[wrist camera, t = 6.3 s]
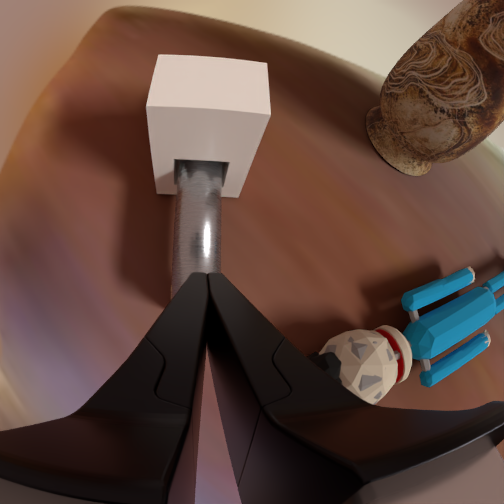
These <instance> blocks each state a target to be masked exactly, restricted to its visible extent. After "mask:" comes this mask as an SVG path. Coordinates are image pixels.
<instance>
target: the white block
mask: <svg viewBox="0 0 504 504" xmlns="http://www.w3.org/2000/svg"><path fill="white" fill-rule="evenodd" d="M146 111H147V121H148V130H149V139H150V147H151V155H152V163H153V171H154V178H155V185H156V191H157V194H177V182H178V171H179V160H180V159H186V160H205V161H221V162H222V192H221V197H236V198H238V197H239V195H240V192H241V189H242V187H243V184H244V182H245V179H246V176H247V174H248V171H249V169H250V166H251V164H252V161H253V158H254V156H255V153H256V151H257V148H258V146H259V143H260V141H261V138H262V136H263V133H264V131H265V128H266V126H267V123H268V121H269V118H270V116H271V109H270V95H269V82H268V69H267V63H263V62H255V61H248V60H239V59H230V58H219V57H206V56H189V55H158V59H157V63H156V67H155V71H154V74H153V78H152V83H151V87H150V91H149V95H148V100H147V104H146Z"/></svg>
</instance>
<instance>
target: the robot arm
mask: <svg viewBox="0 0 504 504" xmlns="http://www.w3.org/2000/svg"><path fill="white" fill-rule="evenodd" d="M206 347H207V351H208V357H209V362H210V367H211V372H212V377H213V382H214V387H215V392H216V397H217V402H218V406H219V411H220V416H221V420H222V425H223V429H224V434H225V438H226V442H227V447H228V451H229V455H230V459H231V463H232V467H233V471H234V475H235V479H236V483H237V487H238V491H239V495H240V499H241V502H242V504H504V461H503V459H502V457H501V455H500V453H499V452H498V450H497V448H496V446H497V445H498V444H499V443H500V442H501V441H502V440H503V439H504V402H503V401H492V402H489V403H487V404H485V405H482V406H480V407H477V408H474V409H469V410H460V411H436V410H416V409H401V408H389V407H381V406H377V405H373V404H371V403H368V402H366V401H365V400H363V399H361V398H360V397H358V396H357V395H355V394H354V393H352V392H351V391H350V390H348V389H347V388H346V387H344V386H343V385H342V384H340V383H339V382H338V381H336V380H335V379H334V378H332V377H331V376H330V375H328V374H327V373H326V372H324V371H323V370H322V369H321V368H319V367H318V366H317V365H316V364H314V363H313V362H312V361H311V360H309V359H308V358H307V357H306V356H305V355H304V354H303V353H301V352H300V351H299V350H298V349H297V348H296V347H295V346H294V345H293V344H292V343H291V342H290V341H289V340H288V339H287V338H285V337H284V335H283V334H282V333H281V332H280V331H279V330H277V329H276V328H275V327H274V326H273V325H272V324H271V323H270V322H269V321H268V320H267V319H266V318H265V317H264V316H263V315H262V314H261V313H260V312H259V311H258V310H257V308H256V307H255V306H254V305H253V304H252V303H251V302H250V301H249V300H248V299H247V298H246V297H245V296H244V295H243V294H242V293H241V292H240V291H239V290H238V289H237V288H236V287H235V286H234V285H233V284H232V283H231V282H230V281H229V280H228V279H227V278H226V277H225V276H224V275H223V274H222V273H208V274H206V273H204V272H192V273H191V274H190V276H189V277H188V278H187V280H186V281H185V282H184V283H183V285H182V286H181V287H180V289H179V290H178V291H177V293H176V294H175V296H174V297H173V298H172V300H171V301H170V302H169V304H168V305H167V306H166V308H165V309H164V310H163V312H162V313H161V314H160V316H159V317H158V318H157V320H156V321H155V323H154V324H153V325H152V327H151V328H150V329H149V331H148V332H147V333H146V335H145V336H144V338H143V339H142V340H141V342H140V343H139V344H138V346H137V347H136V348H135V350H134V351H133V352H132V354H131V355H130V356H129V357H128V359H127V360H126V361H125V362H124V363H123V364H122V365H121V366H120V367H119V369H118V370H117V371H116V372H115V373H114V374H113V375H112V376H111V377H110V378H109V379H108V380H107V381H106V382H105V383H104V384H103V385H102V386H101V387H100V388H99V390H98V391H97V392H96V393H95V394H94V395H93V396H92V397H91V398H90V399H89V400H88V401H87V402H86V403H85V404H84V405H83V406H82V407H81V408H79V409H78V410H77V411H76V412H74V413H72V414H71V415H69V416H66V417H64V418H60V419H56V420H52V421H47V422H43V423H39V424H34V425H30V426H25V427H20V428H15V429H10V430H5V431H0V504H195V486H196V470H197V456H198V442H199V429H200V416H201V404H202V393H203V381H204V371H205V360H206Z"/></svg>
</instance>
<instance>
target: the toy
mask: <svg viewBox="0 0 504 504" xmlns="http://www.w3.org/2000/svg"><path fill="white" fill-rule="evenodd" d="M474 279H475V272H474V271H473V268H471V267H470V266H469V267H466V268H464V269H461V270H459V271H457V272H455V273H453V274H451V275H449V276H447V277H445V278H443V279H437V280H435V281H433V282H430V283H428V284H425V285H423V286H420V287H418V288H415V289H413V290H410V291H408V292H405V293H404V295H403V297H402V299H401V302H402V306H403V309H404V310H405V311H407V312H408V313H409V316H410V319H411V322H410V323H409V324H408V326H407V327H406V329H405V330H404V332H403V334H401V333H400V332H399V331H398V330H397V329H395V328H393V327H391V326H388V325H383V326H380V327H378V328H375V329H374V330H371V331H369V330H361V329H357V330H351V331H346V332H344V333H342V334H340V335H337V336H335V337H333V338H331V339H329V340H328V342H327V343H326V344H325V346H324V347H323V348H322V350H321V351H320V352H319V353H317V352H314V353H313V354H311V355H309V356H308V357H307V358H308V359H309V360H311V361H312V362H313V363H314V364H316V365H317V366H318V367H319V368H321V369H322V370H323V371H324V372H326V373H327V374H328V375H330V376H331V377H332V378H334V379H335V380H336V381H338V382H339V383H340V384H342V385H343V386H344V387H346V388H347V389H348V390H350V391H351V392H352V393H354V394H355V395H357V396H358V397H360V398H361V399H363V400H365V401H366V402H368V403H371V404H373V405H374V404H376V403H377V402H378V401H379V400H380V399H381V398H382V397H383V396H385V395H386V393H387V392H388V391H389V390H390V388H391V387H392V386H393V385H394V384H398V383H400V382H402V381H404V380H405V379H406V378H407V377H408V375H409V373H410V369H411V366H412V358H413V359H416V360H419V361H420V363H421V368H422V372H421V373H420V380H421V385H423V386H426V387H431V386H433V385H434V384H436V383H437V382H439V381H440V380H442V379H443V378H445V377H446V376H448V375H449V374H451V373H452V372H454V371H455V370H457V369H458V368H459V367H461V366H462V365H464V364H465V363H467V362H468V361H469V360H471V359H472V358H474V357H475V356H476V355H478V354H479V353H481V352H482V351H483V350H485V349H486V348H487V347H488V346H489V344H490V341H491V339H490V336H489V334H488V331H487V332H486V330H484V332H483V333H481V334H478V335H477V336H475V337H474V338H472V339H471V340H469V341H468V342H466V343H465V344H463V345H462V346H460V347H459V348H457V349H456V350H454V351H452V352H451V353H449V354H448V355H446V356H445V357H443V358H442V359H440V360H439V361H437V362H435V363H434V364H432V365H431V366H430V362H429V359H431V358H433V357H435V356H436V355H438V354H440V353H441V352H443V351H445V350H446V349H448V348H450V347H451V346H453V345H454V344H456V343H457V342H459V341H461V340H462V339H464V338H465V337H467V336H468V335H470V334H471V333H473V332H474V331H476V330H477V329H479V328H480V327H481V326H483V325H484V324H486V323H487V322H488V321H489V320H490V319H491V318H492V317H493V316H494V315H495V314H497V313H499V312H500V311H501V310H502V309H504V294H503V295H502V296H500V297H499V298H497V299H496V300H495V297H494V294H493V292H495V291H496V290H498V289H500V288H501V287H503V286H504V271H503V272H501V273H500V274H498V275H497V276H495V277H493V278H492V279H490V280H489V281H487V282H486V283H484V284H482V287H483V288H482V287H476V288H474V289H473V290H471V291H469V292H467V293H465V294H463V295H462V296H460V297H458V298H456V299H454V300H452V301H450V302H448V303H446V304H444V305H442V306H440V307H438V308H436V309H434V310H432V311H430V312H428V313H426V314H424V315H422V316H420V317H419V316H418V312H417V309H419V308H422V307H424V306H426V305H428V304H431V303H433V302H435V301H437V300H439V299H441V298H444V297H446V296H447V295H450V294H452V293H454V292H456V291H458V290H460V289H462V288H464V287H466V286H468V285H470V284H471V283H474Z"/></svg>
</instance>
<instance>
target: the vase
mask: <svg viewBox="0 0 504 504" xmlns="http://www.w3.org/2000/svg"><path fill="white" fill-rule="evenodd" d="M503 120H504V0H463V1H462V2H461V3H460V4H458V5H457V6H456V7H455V8H454V9H452V10H451V11H450V12H449V13H448V14H447V15H445V16H444V17H443V18H442V19H441V20H440V21H439V22H438V23H437V24H435V25H434V26H433V27H432V28H431V29H430V30H428V31H427V32H426V33H425V34H424V35H423V36H422V37H421V38H420V39H419V40H418V41H417V42H415V43H414V44H413V45H412V46H411V47H410V48H409V49H408V50H407V52H406V53H405V54H404V55H403V56H402V57H401V58H400V60H399V61H398V62H397V63H396V65H395V66H394V67H393V69H392V70H391V72H390V73H389V74H388V76H387V78H386V80H385V82H384V84H383V86H382V89H381V93H380V106H376V107H373V108H371V109H370V110H369V111H368V113H367V115H366V129H367V132H368V135H369V138H370V140H371V142H372V143H373V145H374V147H375V148H376V150H377V151H378V152H379V154H380V155H381V156H382V157H383V158H384V159H385V160H386V161H387V162H388V163H389V164H391V165H392V166H393V167H395V168H397V169H398V170H399V171H401V172H403V173H405V174H408V175H413V176H421V175H424V174H426V173H427V172H428V171H429V170H430V168H431V166H432V163H444V162H449V161H451V160H453V159H456V158H458V157H460V156H462V155H464V154H466V153H467V152H469V151H470V150H472V149H473V148H474V147H476V146H477V145H478V144H480V143H481V142H482V141H483V140H484V139H486V138H487V137H488V136H489V135H490V134H491V133H492V132H493V131H494V130H495V129H496V128H497V127H498V126H499V125H500V124H501V123H502V122H503Z"/></svg>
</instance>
